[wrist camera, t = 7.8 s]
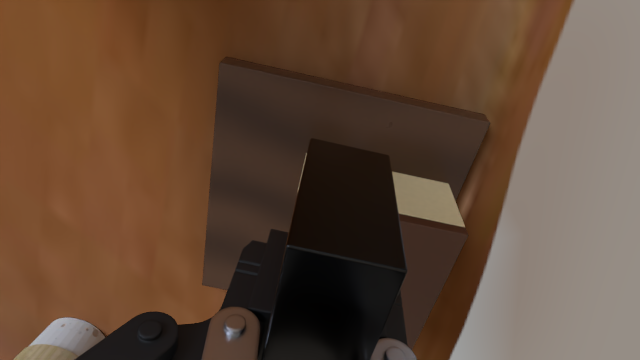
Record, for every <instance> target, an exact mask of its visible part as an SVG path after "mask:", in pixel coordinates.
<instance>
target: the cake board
mask: <svg viewBox="0 0 640 360" xmlns="http://www.w3.org/2000/svg"><path fill="white" fill-rule="evenodd" d="M489 125H490V122H489V120H488V119H487V117H486V116H485V115H484V114H480V113H475V112H471V111H466V110H462V109H457V108H453V107H448V106H444V105H439V104H435V103H430V102H426V101H421V100H417V99H412V98H408V97H404V96H399V95H395V94H390V93H386V92H381V91H377V90H372V89H368V88H363V87H359V86H354V85H350V84H345V83H341V82H337V81H332V80H328V79H323V78H319V77H314V76H310V75H305V74H301V73H296V72H292V71H287V70H283V69H278V68H274V67H269V66H265V65H261V64H256V63H252V62H247V61H243V60H238V59H234V58H229V57H225V58H224V59H223V60H222V61H221V62H220V64H219V77H218V90H217V103H216V115H215V128H214V141H213V154H212V167H211V179H210V192H209V205H208V218H207V230H206V243H205V256H204V269H203V282H202V285H205V286H210V287H215V288H220V289H224V290H228V288H229V285H230V283H231V280H232V277H233V274H234V272H235V269H236V266H237V263H238V261H239V258H240V255H241V252H242V250H243V248H244V247H245V246H246V245H248V244H249V243H250V242H251V241H252V240H255V241H259V242H264V243H267V241H268V237H269V234H270V230H271V229H275V230H280V231H284V232H289V229H290V224H291V219H292V215H293V210H294V205H295V200H296V196H297V191H298V187H299V183H300V178H301V174H302V170H303V165H304V161H305V156H306V153H307V151H308V146H309V142H310V139H311V138H314V139H319V140H323V141H328V142H332V143H337V144H341V145H346V146H350V147H355V148H359V149H364V150H368V151H373V152H377V153H382V154H386V155H389V156H390V162H391V168H392V172H397V173H401V174H406V175H411V176H415V177H420V178H425V179H429V180H434V181H438V182H443V183H448V184H449V186H450V188H451V191H452V194H453V196H454V199H455V201H456V199H457V196H458V194H459V192H460V190H461V187H462V185H463V183H464V181H465V179H466V176H467V174H468V172H469V170H470V167H471V165H472V163H473V161H474V158H475V156H476V154H477V152H478V150H479V147H480V145H481V143H482V141H483V138H484V136H485V134H486V132H487V129H488V127H489Z"/></svg>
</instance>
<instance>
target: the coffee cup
mask: <svg viewBox="0 0 640 360" xmlns="http://www.w3.org/2000/svg"><path fill="white" fill-rule="evenodd" d="M104 338H105V336H104V335H103V333H102V332H101V331H100V330H99V329H97V328H96V327H95V326H93V325H92V324H90V323H88V322H85V321H83V320H80V319H75V318H60V319H57V320H55V321H53V322H52V323H51V324H50V325H49V326H48V327H47V328H46V329H45V330H44V331H43V332H42V333H41V334H40V335H39V336H38V337H37V338H36V339H35V340H34V341H33V342H32V343H31V344H30V345H29V346H28V347H26V348H25V349H24V350H23V351H21V352H20V353H19V354H18V355H17V356H16V357H15V358H14V359H13V360H74V359H76V358H77V357H79V356H80V355H82V354H83V353H84V352H86V351H87V350H89V349H90V348H91V347H93V346H94V345H96V344H97V343H98V342H100V341H101V340H103V339H104Z"/></svg>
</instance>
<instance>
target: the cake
mask: <svg viewBox="0 0 640 360" xmlns="http://www.w3.org/2000/svg"><path fill="white" fill-rule="evenodd" d="M392 175H393V181H394V187H395V194H396V200H397V206H398V213H399V219H400V226H401V232H402V238H403V245H404V251H405V257H406V264H407V270H408V272H407V275H406V277H405V279H404V282H403V284H402V286H401V289H400V290H401V298H402V307H403V313H404V321H405V329H406V337H407V344H408V347H409V348H410V349H411V350H412V349H413V347H414V345H415V342H416V340H417V338H418V336H419V334H420V332H421V330H422V328H423V326H424V324H425V322H426V320H427V318H428V316H429V314H430V312H431V310H432V308H433V306H434V304H435V302H436V300H437V298H438V296H439V294H440V292H441V290H442V288H443V286H444V284H445V282H446V280H447V278H448V276H449V274H450V271H451V269H452V267H453V265H454V263H455V261H456V259H457V257H458V255H459V253H460V251H461V249H462V247H463V245H464V243H465V241H466V239H467V237H468V233H467V230H466V228H465V225H464V222H463V220H462V217H461V215H460V212H459V209H458V207H457V204H456V202H455V199H454V196H453V194H452V191H451V188H450V186H449V184H448V183H443V182H438V181H434V180H429V179H425V178H420V177H415V176H411V175H406V174H401V173H397V172H392Z"/></svg>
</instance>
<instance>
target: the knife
mask: <svg viewBox="0 0 640 360" xmlns="http://www.w3.org/2000/svg"><path fill="white" fill-rule="evenodd" d="M407 272H408V270H407V264H406V257H405V251H404V245H403V238H402V232H401V226H400V219H399V213H398V206H397V200H396V194H395V187H394V181H393V175H392V168H391V162H390V156H389V155H386V154H382V153H377V152H373V151H368V150H364V149H359V148H355V147H350V146H346V145H341V144H337V143H332V142H328V141H323V140H319V139H314V138H311V139H310V142H309V146H308V151H307V155H306V159H305V164H304V168H303V172H302V177H301V181H300V185H299V190H298V194H297V198H296V203H295V207H294V211H293V216H292V220H291V224H290V229H289V233H288V237H287V242H286V246H285V251H284V256H283V260H282V265H281V270H280V274H279V279H278V284H277V288H276V293H275V298H274V302H273V307H272V312H271V316H270V321H269V326H268V331H267V335H266V340H265V345H264V349H263V354H262V359H261V360H370V359H371V357H372V354H373V352H374V350H375V347H376V345H377V343H378V340H379V338H380V336H381V333H382V331H383V329H384V326H385V324H386V321H387V319H388V317H389V314H390V312H391V310H392V307H393V305H394V303H395V300H396V298H397V296H398V293H399V291H400V289H401V286H402V284H403V282H404V279H405V277H406V275H407Z"/></svg>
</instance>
